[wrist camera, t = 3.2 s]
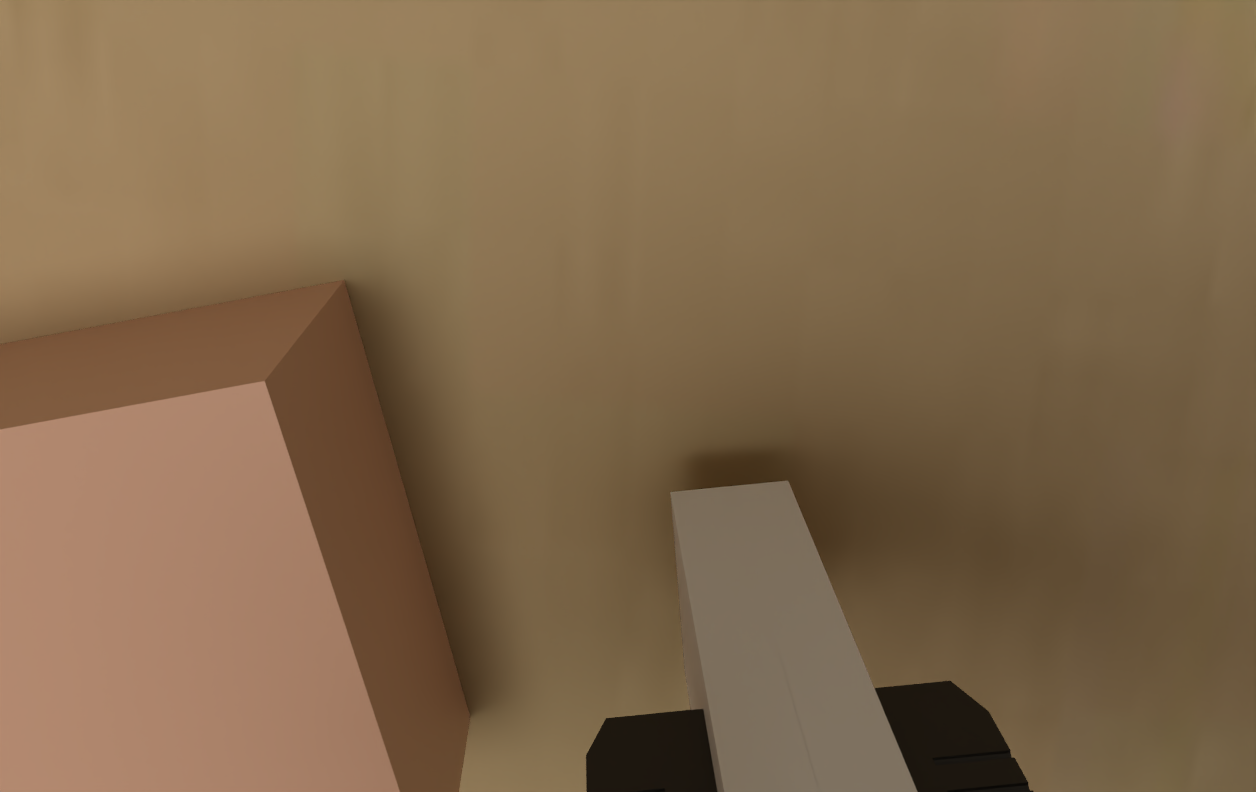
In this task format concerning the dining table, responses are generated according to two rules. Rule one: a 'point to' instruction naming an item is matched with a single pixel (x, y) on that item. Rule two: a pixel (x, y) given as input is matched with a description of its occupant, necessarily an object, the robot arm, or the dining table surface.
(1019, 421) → the dining table surface
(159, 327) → the pink foam brick
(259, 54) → the dining table surface
